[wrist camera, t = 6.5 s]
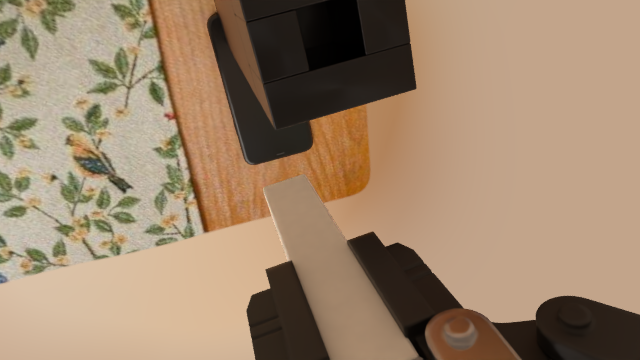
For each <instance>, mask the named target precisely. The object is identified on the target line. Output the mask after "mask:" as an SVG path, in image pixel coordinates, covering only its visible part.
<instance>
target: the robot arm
mask: <svg viewBox="0 0 640 360" xmlns="http://www.w3.org/2000/svg"><path fill="white" fill-rule="evenodd" d="M347 244H348V246H349V248H350V249H351V251H352V252H353V254H354V256H355V257H356V259H357V260H358V262H359V264H360V265H361V267H362V269H363V270H364V272H365V273H366V275H367V277H368V278H369V280H370V281H371V283H372V285H373V286H374V288H375V289H376V291H377V293H378V294H379V296H380V297H381V299H382V301H383V302H384V304H385V306H386V307H387V309H388V310H389V312H390V314H391V315H392V317H393V318H394V320H395V322H396V323H397V325H398V326H399V328H400V330H401V331H402V333H403V334H404V336H405V338H408V339H409V340H410V342H411V343H412V345H413V346H414V348H415V350H416V351H417V353H418V354H419V357H422V358H423V359H424V360H640V315H639V314H635V313H632V312H629V311H625V310H622V309H619V308H616V307H612V306H609V305H606V304H603V303H599V302H596V301H592V300H589V299H586V298H582V297H576V296H560V297H555V298H552V299H549V300H547V301H545V302H544V303H543V304H541V305H540V307H539V308H538V310H537V312H536V320H531V321H522V322H512V323H494V322H491V321H490V320H489V319H488V318H487V317H485V316H484V315H482V314H480V313H478V312H476V311H473V310H469V309H464V308H463V307H462V306H461V305H460V304H459V302H458V301H457V300H456V299H455V298H454V296H453V295H452V294H451V293H450V292H449V291H448V289H447V288H446V287H445V286H444V285H443V284H442V282H441V281H440V280H439V279H438V278H437V277H436V275H435V274H434V273H432V272H431V270H430V269H429V268H428V266H427V265H426V264H424V262H423V260H422V259H421V258H420V257H419V256H418V255H417V254H416V252H415V251H414V250H413V249H410V248H409V247H406V246H404V245H402V244H400V243H395V244H392V245H389V246H386V247H385V246H384V245H383V244H382V242H381V241H380V240H379V238H378V237H377V236H376V234H375V233H374V232H370V233H367V234H364V235H361V236H358V237H356V238H353V239H350V240H347ZM266 273H267V277H268V280H269V284H270V287H271V288H270V289H267V290H265V291H262V292H259V293H257V294H254V295H252V296H251V299H250V302H249V305H248V308H247V317H248V322H249V326H250V333H251V338H252V343H253V349H254V354H255V359H256V360H330V358H329V355H328V352H327V350H326V347H325V345H324V342H323V340H322V337H321V334H320V332H319V329H318V327H317V324H316V321H315V319H314V316H313V314H312V311H311V309H310V306H309V303H308V301H307V298H306V296H305V293H304V291H303V288H302V285H301V283H300V280H299V278H298V275H297V272H296V270H295V267H294V265H293V262H292V260H291V261H288V262H285V263H282V264H279V265H277V266H274V267H271V268H268V269H266Z"/></svg>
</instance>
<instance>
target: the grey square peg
mask: <svg viewBox="0 0 640 360" xmlns="http://www.w3.org/2000/svg"><path fill="white" fill-rule="evenodd" d="M263 191H264V194H265V197H266V200H267V204H268V207H269V210H270V213H271V216H272V219H273V222H274V225H275V228H276V230H277V233H278V236H279V238H280V241H281V244H282V246H283V249H284V252H285V255H286V257H287V260H288V261H291V260H292V262H293V265H294V267H295V270H296V272H297V275H298V278H299V280H300V283H301V285H302V288H303V291H304V293H305V296H306V298H307V301H308V303H309V306H310V309H311V311H312V314H313V316H314V319H315V321H316V324H317V327H318V329H319V332H320V334H321V337H322V340H323V342H324V345H325V347H326V350H327V352H328V355H329V358H330V360H424V359H423V358H422V357H419V354H418V353H417V351H416V350H415V348H414V346H413V345H412V343H411V342H410V340H409V339H408V338H405V336H404V334H403V333H402V331H401V330H400V328H399V326H398V325H397V323H396V322H395V320H394V318H393V317H392V315H391V314H390V312H389V310H388V309H387V307H386V306H385V304H384V302H383V301H382V299H381V297H380V296H379V294H378V293H377V291H376V289H375V288H374V286H373V285H372V283H371V281H370V280H369V278H368V277H367V275H366V273H365V272H364V270H363V269H362V267H361V265H360V264H359V262H358V260H357V259H356V257H355V256H354V254H353V252H352V251H351V249H350V248H349V246H348V244H347V240H346V239H345V237H344V235H343V234H342V232H341V230H340V229H339V227H338V226H337V224H336V222H335V221H334V219H333V218H332V216H331V215H330V213H329V212H328V210H327V208H326V207H325V205H324V203H323V202H322V200H321V199H320V197H319V195H318V194H317V192H316V191H315V189H314V187H313V186H312V184H311V183H310V181H309V180H308V178H307V176H306V175H305V174H302V175H299V176H296V177H293V178H290V179H287V180H284V181H281V182H278V183H275V184H272V185H269V186H266V187H264V188H263Z"/></svg>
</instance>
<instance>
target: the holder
mask: <svg viewBox="0 0 640 360" xmlns="http://www.w3.org/2000/svg"><path fill="white" fill-rule="evenodd" d="M214 2H215V5H216V9H217V12H218V15H219V18H220V22H221V25H222V28H223V32H224V35H225V38H226V42H227V45H228V47H229V49H230V51H231V52H232V54H233V56H234V58H235V59H236V61H237V63H238V65H239V67H240V68H241V70H242V72H243V74H244V75H245V77H246V79H247V81H248V83H249V84H250V86H251V88H252V90H253V91H254V93H255V95H256V97H257V98H258V100H259V102H260V104H261V105H262V107H263V109H264V111H265V113H266V114H267V116H268V118H269V120H270V121H271V123H272V125H273V127H274V128H275V130H279V129H282V128H286V127H289V126H293V125H296V124H299V123H303V122H306V121H310V120H313V119H316V118H320V117H323V116H326V115H330V114H333V113H337V112H340V111H343V110H347V109H350V108H354V107H357V106H360V105H364V104H367V103H370V102H374V101H377V100H381V99H384V98H387V97H391V96H394V95H398V94H401V93H405V92H408V91H411V90H415V89H416V81H415V73H414V66H413V59H412V51H411V44H410V35H409V29H408V21H407V13H406V5H405V0H214Z"/></svg>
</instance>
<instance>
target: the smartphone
mask: <svg viewBox="0 0 640 360" xmlns="http://www.w3.org/2000/svg"><path fill="white" fill-rule="evenodd" d="M207 28H208V32H209V36H210V39H211V43H212V46H213V50H214V53H215V57H216V61H217V64H218V68H219V71H220V75H221V78H222V82H223V85H224V89H225V93H226V96H227V100H228V103H229V107H230V110H231V114H232V117H233V122H234V126H235V129H236V133H237V136H238V139H239V142H240V146H241V149H242V153H243V157H244V159H245V161H246V162H247V163H248V164H250V165H257V164H261V163H265V162H268V161H272V160H276V159H279V158H283V157H287V156H290V155H294V154H298V153H301V152H305V151H307V150H309V149H310V148H311V147H312V144H313V139H312V134H311V128H310V124H309V121H306V122H303V123H299V124H296V125H293V126H289V127H286V128H282V129H279V130H275V128H274V127H273V125H272V123H271V121H270V120H269V118H268V116H267V114H266V113H265V111H264V109H263V107H262V105H261V104H260V102H259V100H258V98H257V97H256V95H255V93H254V91H253V90H252V88H251V86H250V84H249V83H248V81H247V79H246V77H245V75H244V74H243V72H242V70H241V68H240V67H239V65H238V63H237V61H236V59H235V58H234V56H233V54H232V52H231V51H230V49H229V47H228V45H227V42H226V38H225V35H224V32H223V28H222V25H221V22H220V18H219V15H218V14H214V15H212V16H211V17H210V18H209V19H208V22H207Z"/></svg>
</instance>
